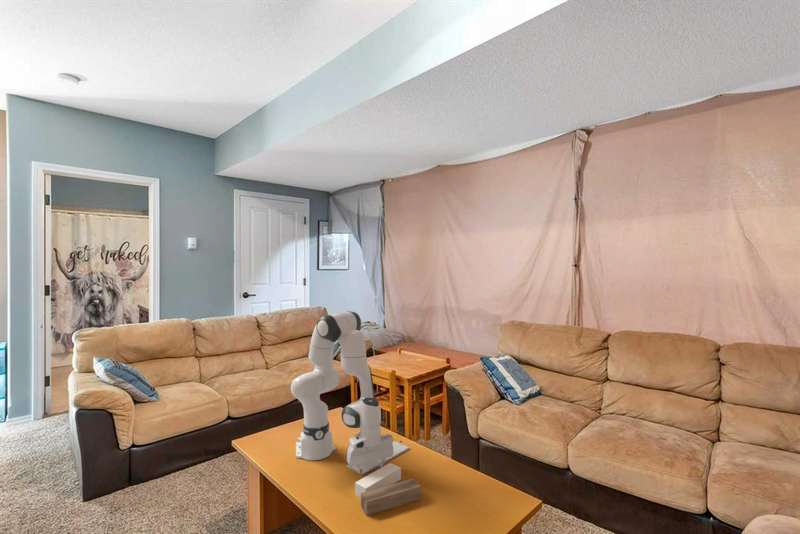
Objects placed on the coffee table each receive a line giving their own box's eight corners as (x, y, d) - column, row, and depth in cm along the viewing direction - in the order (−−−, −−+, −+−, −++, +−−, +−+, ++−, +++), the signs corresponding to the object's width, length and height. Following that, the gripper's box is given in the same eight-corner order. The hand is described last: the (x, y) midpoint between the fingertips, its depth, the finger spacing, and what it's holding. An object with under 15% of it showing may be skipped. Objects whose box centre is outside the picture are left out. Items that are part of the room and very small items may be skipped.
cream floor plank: (355, 495, 151) (355, 482, 151) (390, 474, 166) (390, 462, 166) (365, 501, 147) (365, 488, 147) (400, 479, 162) (400, 467, 162)
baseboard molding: (343, 467, 172) (362, 477, 164) (343, 460, 172) (362, 470, 164) (391, 442, 195) (409, 450, 187) (391, 436, 195) (409, 444, 187)
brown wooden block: (360, 506, 143) (360, 493, 143) (413, 491, 153) (413, 478, 153) (366, 516, 138) (366, 502, 138) (420, 499, 148) (420, 486, 148)
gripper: (389, 430, 172) (389, 461, 172) (345, 439, 163) (345, 472, 163) (395, 436, 166) (396, 468, 166) (350, 446, 157) (350, 480, 157)
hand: (370, 470), depth 164 cm, fingers open, 8 cm apart
